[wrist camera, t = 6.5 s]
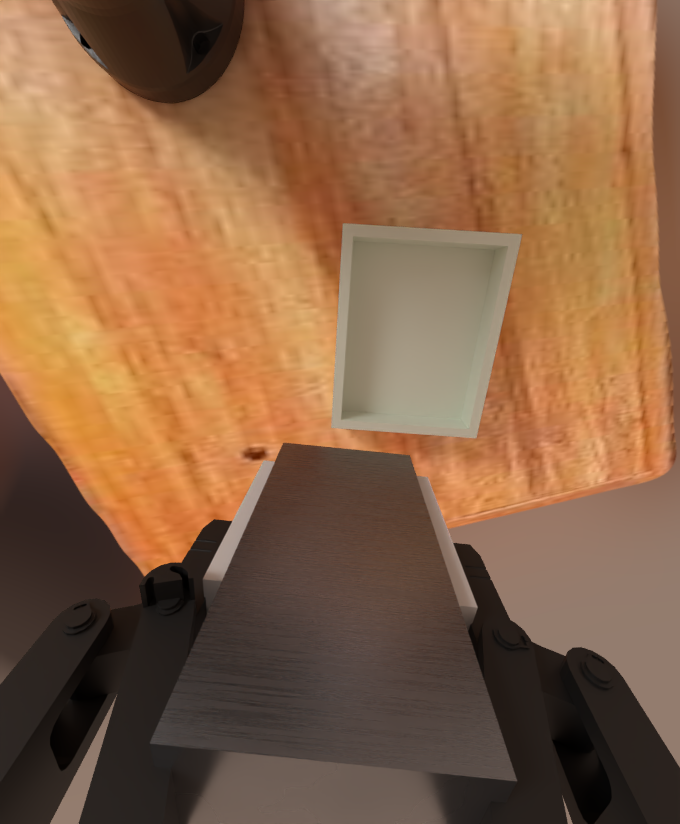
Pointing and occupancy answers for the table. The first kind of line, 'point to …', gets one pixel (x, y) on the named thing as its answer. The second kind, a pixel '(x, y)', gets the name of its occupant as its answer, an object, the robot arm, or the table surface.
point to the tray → (418, 327)
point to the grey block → (334, 664)
